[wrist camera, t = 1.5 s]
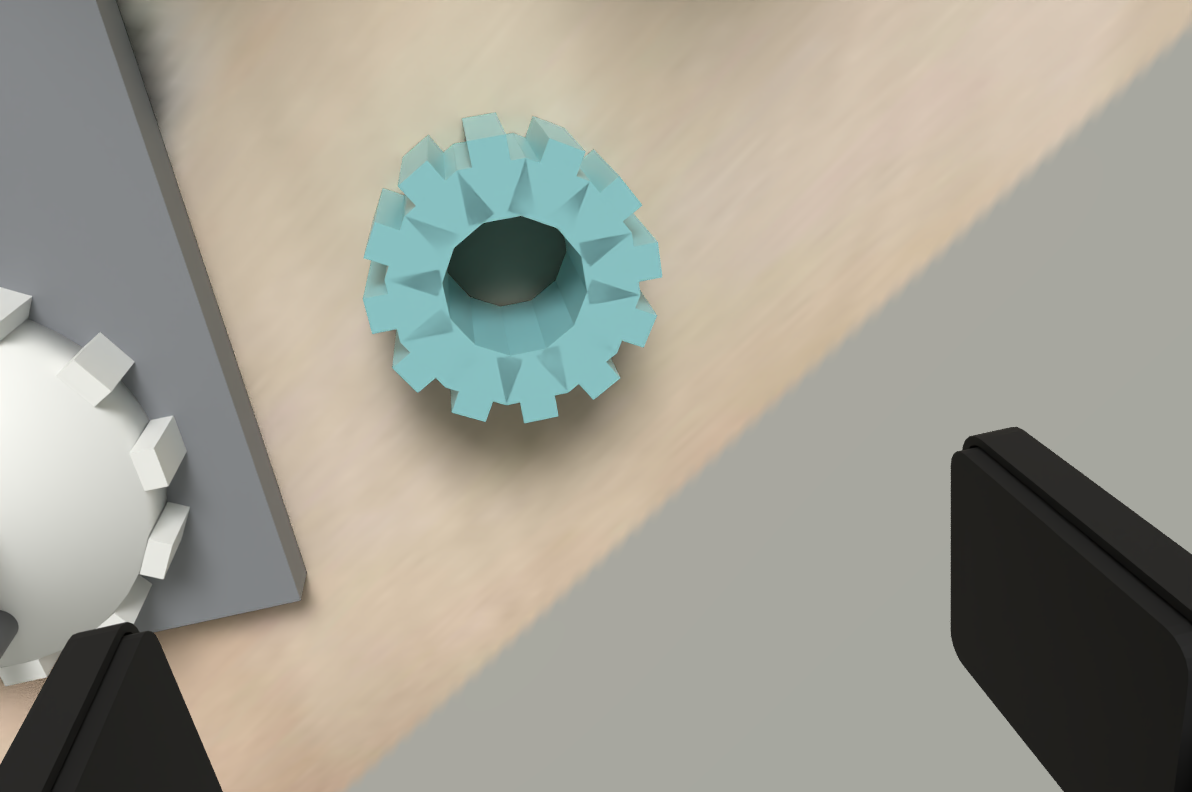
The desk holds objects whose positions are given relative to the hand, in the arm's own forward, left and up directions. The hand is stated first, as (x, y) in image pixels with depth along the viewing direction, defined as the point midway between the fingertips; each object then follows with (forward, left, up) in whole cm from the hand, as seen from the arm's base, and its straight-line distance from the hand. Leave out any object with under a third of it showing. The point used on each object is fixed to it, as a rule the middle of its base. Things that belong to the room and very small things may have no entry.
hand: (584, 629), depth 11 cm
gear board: (+15, -2, -17) cm, 23 cm away
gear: (0, 0, -17) cm, 17 cm away
